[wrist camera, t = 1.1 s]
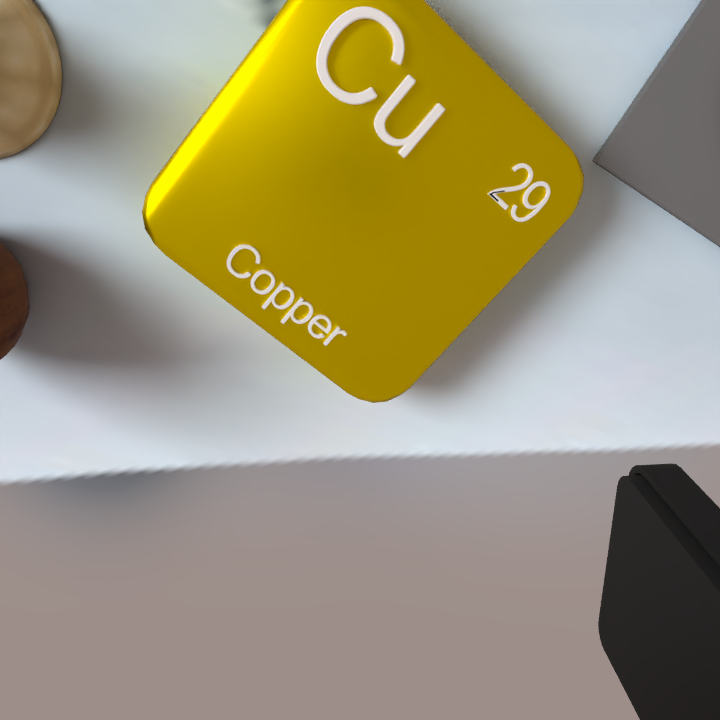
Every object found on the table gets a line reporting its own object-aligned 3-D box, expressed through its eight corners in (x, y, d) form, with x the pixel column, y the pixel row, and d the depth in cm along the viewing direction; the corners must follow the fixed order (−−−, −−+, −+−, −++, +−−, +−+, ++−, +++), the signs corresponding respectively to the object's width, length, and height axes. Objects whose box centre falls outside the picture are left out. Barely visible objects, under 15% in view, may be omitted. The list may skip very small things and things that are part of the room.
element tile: (143, 208, 34) (117, 225, 29) (341, -58, 30) (346, -84, 26) (374, 386, 38) (382, 425, 33) (572, 171, 34) (611, 183, 30)
